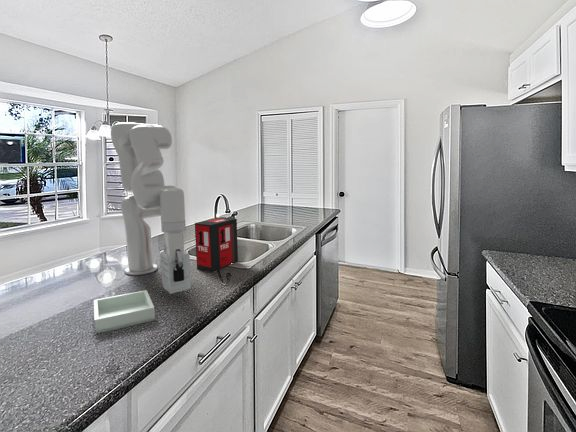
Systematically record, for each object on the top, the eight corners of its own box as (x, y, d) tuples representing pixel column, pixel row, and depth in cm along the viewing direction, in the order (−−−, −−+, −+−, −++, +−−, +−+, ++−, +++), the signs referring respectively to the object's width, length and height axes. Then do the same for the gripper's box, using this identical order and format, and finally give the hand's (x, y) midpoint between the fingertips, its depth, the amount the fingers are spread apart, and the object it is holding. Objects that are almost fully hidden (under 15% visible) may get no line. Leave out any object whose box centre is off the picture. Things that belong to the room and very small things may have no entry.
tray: (95, 312, 102) (93, 299, 101) (147, 301, 110) (146, 290, 109) (95, 333, 89) (94, 320, 89) (155, 320, 97) (154, 307, 96)
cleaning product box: (212, 272, 137) (210, 225, 134) (197, 269, 142) (194, 223, 138) (237, 262, 152) (236, 218, 148) (222, 259, 156) (221, 217, 153)
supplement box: (182, 282, 118) (181, 247, 116) (191, 288, 113) (190, 252, 110) (161, 287, 114) (159, 251, 111) (169, 294, 108) (167, 257, 106)
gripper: (156, 222, 115) (159, 270, 118) (166, 232, 100) (169, 287, 103) (179, 220, 118) (181, 267, 122) (192, 230, 104) (194, 283, 107)
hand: (176, 276), depth 112 cm, fingers closed on supplement box, 8 cm apart
